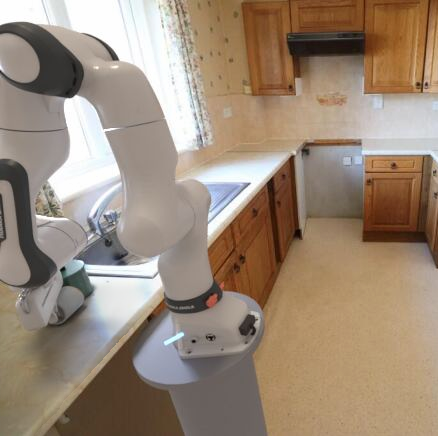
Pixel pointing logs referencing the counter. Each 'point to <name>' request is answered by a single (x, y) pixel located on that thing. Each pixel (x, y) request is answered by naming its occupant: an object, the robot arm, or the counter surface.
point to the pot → (79, 282)
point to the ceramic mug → (68, 302)
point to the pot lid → (71, 268)
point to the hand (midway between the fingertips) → (55, 319)
